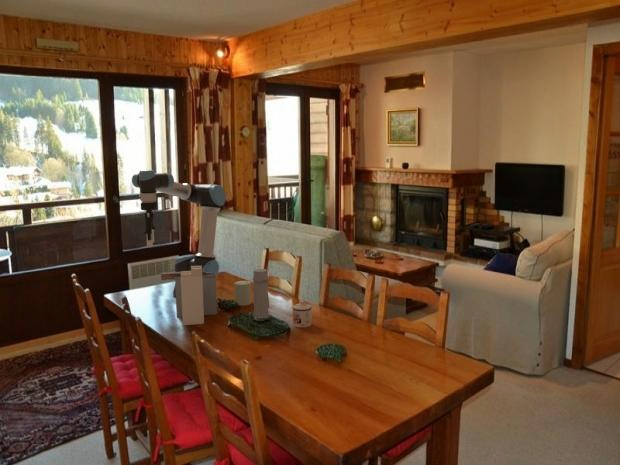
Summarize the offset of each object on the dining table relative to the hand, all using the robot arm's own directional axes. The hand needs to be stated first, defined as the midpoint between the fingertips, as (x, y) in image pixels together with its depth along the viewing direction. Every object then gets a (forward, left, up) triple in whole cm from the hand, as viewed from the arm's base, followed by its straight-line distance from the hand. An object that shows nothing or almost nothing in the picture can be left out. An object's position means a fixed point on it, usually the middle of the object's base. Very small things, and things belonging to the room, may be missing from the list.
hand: (150, 244), depth 266 cm
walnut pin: (+2, +15, -18) cm, 24 cm away
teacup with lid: (+34, +70, -37) cm, 86 cm away
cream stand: (+14, +19, -37) cm, 44 cm away
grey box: (+2, +21, -37) cm, 42 cm away
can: (-12, +46, -37) cm, 60 cm away
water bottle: (+20, +52, -37) cm, 67 cm away
